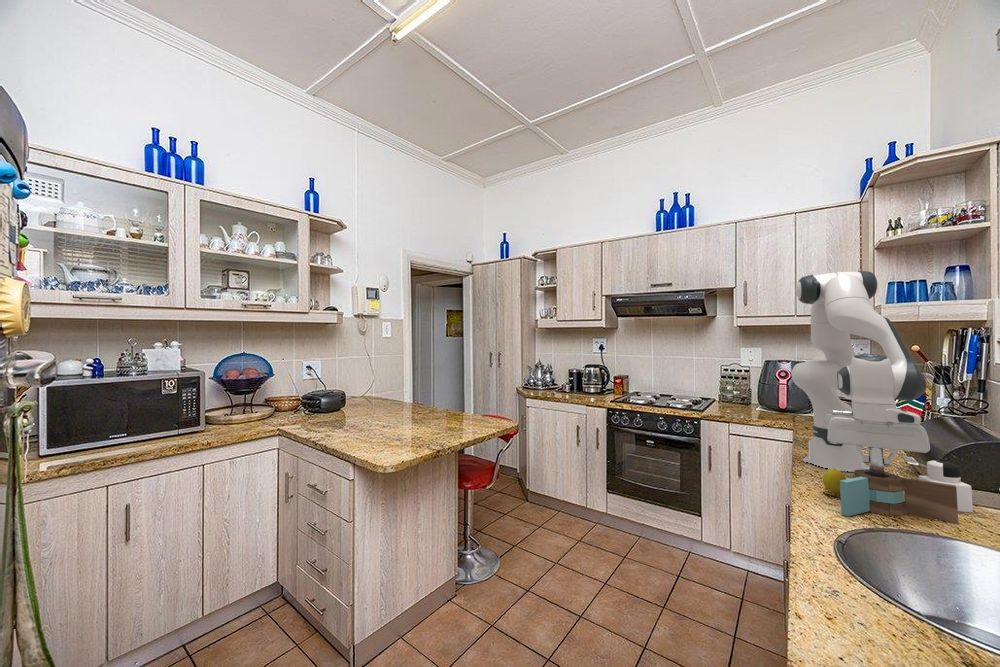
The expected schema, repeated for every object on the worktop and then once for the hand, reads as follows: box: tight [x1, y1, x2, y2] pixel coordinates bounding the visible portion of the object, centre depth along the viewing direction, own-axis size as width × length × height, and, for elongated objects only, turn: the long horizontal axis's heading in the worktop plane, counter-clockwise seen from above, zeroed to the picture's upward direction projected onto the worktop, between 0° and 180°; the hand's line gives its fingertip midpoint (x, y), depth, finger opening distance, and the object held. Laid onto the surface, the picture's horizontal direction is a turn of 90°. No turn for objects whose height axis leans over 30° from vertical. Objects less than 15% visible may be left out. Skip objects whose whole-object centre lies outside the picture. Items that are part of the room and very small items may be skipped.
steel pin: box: [867, 447, 886, 478], centre depth 107 cm, size 3×3×11 cm
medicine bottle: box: [918, 460, 974, 514], centre depth 107 cm, size 7×7×12 cm
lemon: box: [822, 468, 847, 496], centre depth 116 cm, size 6×6×8 cm
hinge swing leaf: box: [840, 476, 905, 517], centre depth 105 cm, size 19×9×9 cm, turn 109°
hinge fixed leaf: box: [854, 469, 959, 525], centre depth 103 cm, size 9×19×9 cm, turn 49°
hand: (876, 463), depth 107 cm, fingers closed on steel pin, 3 cm apart
